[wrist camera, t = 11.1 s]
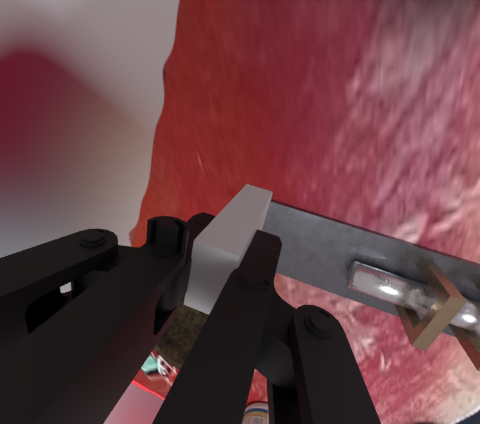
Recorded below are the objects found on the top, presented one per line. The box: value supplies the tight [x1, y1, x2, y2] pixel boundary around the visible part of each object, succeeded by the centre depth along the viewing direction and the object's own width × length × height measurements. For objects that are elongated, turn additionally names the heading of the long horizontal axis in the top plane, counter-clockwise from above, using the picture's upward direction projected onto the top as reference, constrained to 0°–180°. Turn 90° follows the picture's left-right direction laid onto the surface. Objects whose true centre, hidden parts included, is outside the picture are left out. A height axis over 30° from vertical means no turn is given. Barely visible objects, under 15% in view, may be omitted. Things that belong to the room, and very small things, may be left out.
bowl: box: [154, 295, 209, 369], centre depth 54 cm, size 22×22×10 cm
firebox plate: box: [262, 200, 480, 371], centre depth 40 cm, size 14×44×10 cm, turn 77°
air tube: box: [346, 261, 480, 334], centre depth 40 cm, size 22×5×5 cm, turn 77°
